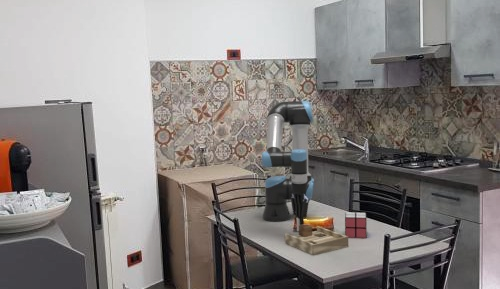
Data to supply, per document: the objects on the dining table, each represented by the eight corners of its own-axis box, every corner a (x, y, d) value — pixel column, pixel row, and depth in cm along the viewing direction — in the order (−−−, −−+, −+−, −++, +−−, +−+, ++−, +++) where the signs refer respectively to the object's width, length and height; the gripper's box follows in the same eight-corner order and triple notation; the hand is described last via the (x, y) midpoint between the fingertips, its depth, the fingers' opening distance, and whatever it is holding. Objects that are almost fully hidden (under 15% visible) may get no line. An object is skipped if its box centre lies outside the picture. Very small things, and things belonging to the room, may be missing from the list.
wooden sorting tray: (285, 243, 236) (285, 233, 236) (318, 235, 247) (318, 226, 246) (313, 255, 218) (313, 245, 218) (348, 246, 229) (348, 236, 228)
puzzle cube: (366, 238, 240) (366, 217, 239) (345, 237, 242) (345, 217, 241) (366, 232, 250) (366, 212, 249) (345, 231, 252) (345, 212, 251)
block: (298, 235, 240) (298, 225, 239) (306, 233, 242) (306, 224, 242) (304, 237, 236) (304, 227, 235) (312, 235, 238) (312, 226, 238)
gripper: (284, 181, 243) (285, 228, 246) (301, 185, 232) (302, 235, 235) (297, 179, 247) (298, 226, 250) (314, 183, 236) (314, 232, 239)
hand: (300, 230), depth 242 cm, fingers closed
